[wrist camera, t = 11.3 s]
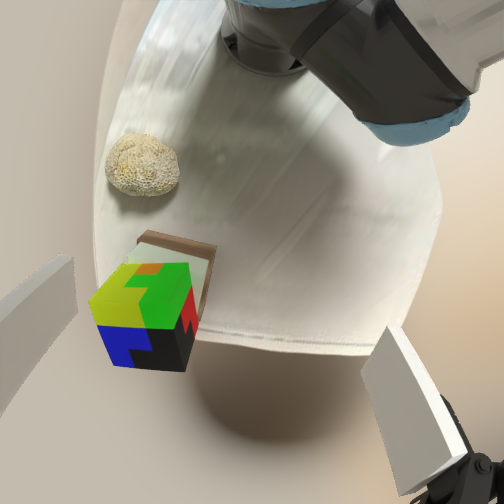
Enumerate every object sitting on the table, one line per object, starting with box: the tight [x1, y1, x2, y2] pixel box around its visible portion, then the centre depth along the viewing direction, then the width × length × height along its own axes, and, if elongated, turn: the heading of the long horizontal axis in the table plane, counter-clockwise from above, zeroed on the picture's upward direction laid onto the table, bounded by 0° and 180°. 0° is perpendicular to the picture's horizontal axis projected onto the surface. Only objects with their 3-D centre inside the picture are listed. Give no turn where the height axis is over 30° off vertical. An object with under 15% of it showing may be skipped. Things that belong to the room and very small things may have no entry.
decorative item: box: [105, 133, 180, 197], centre depth 39 cm, size 12×9×10 cm
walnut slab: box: [137, 230, 217, 322], centre depth 47 cm, size 12×12×5 cm
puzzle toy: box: [88, 262, 199, 372], centre depth 35 cm, size 10×10×10 cm
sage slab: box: [127, 242, 209, 313], centre depth 42 cm, size 11×11×5 cm
